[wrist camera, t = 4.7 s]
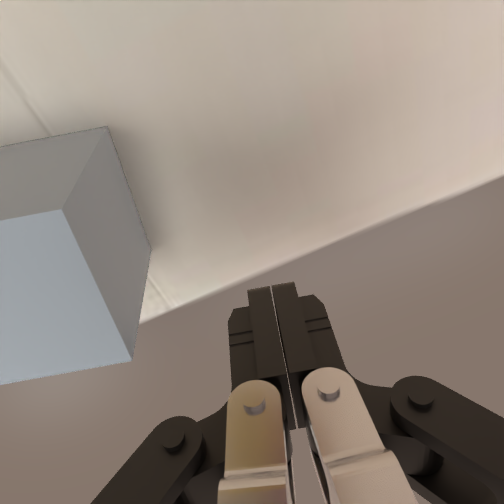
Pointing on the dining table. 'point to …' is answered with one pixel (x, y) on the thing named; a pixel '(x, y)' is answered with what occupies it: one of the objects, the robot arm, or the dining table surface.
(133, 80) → the dining table surface
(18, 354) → the block
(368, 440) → the robot arm
